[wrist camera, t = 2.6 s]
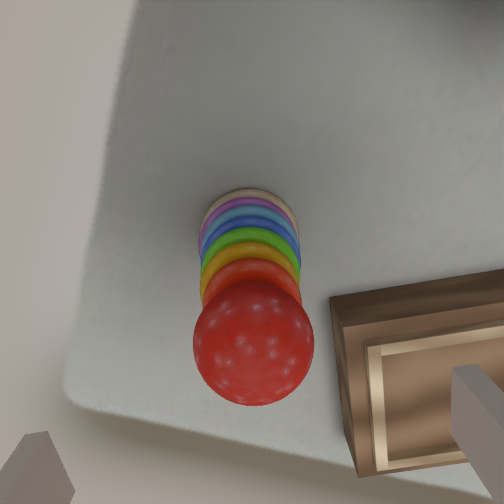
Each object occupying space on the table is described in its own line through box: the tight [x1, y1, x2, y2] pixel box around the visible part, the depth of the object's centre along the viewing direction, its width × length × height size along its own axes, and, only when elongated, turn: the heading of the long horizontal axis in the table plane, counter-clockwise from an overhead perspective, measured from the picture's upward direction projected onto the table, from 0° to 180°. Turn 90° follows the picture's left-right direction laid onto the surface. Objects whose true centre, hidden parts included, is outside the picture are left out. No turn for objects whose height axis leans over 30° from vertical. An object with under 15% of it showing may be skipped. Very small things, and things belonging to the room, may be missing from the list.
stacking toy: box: [193, 189, 314, 406], centre depth 23 cm, size 8×8×19 cm
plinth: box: [329, 269, 504, 478], centre depth 33 cm, size 16×16×6 cm
